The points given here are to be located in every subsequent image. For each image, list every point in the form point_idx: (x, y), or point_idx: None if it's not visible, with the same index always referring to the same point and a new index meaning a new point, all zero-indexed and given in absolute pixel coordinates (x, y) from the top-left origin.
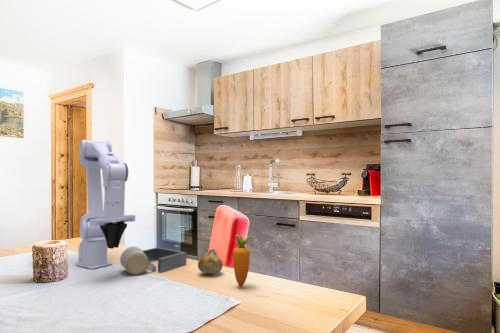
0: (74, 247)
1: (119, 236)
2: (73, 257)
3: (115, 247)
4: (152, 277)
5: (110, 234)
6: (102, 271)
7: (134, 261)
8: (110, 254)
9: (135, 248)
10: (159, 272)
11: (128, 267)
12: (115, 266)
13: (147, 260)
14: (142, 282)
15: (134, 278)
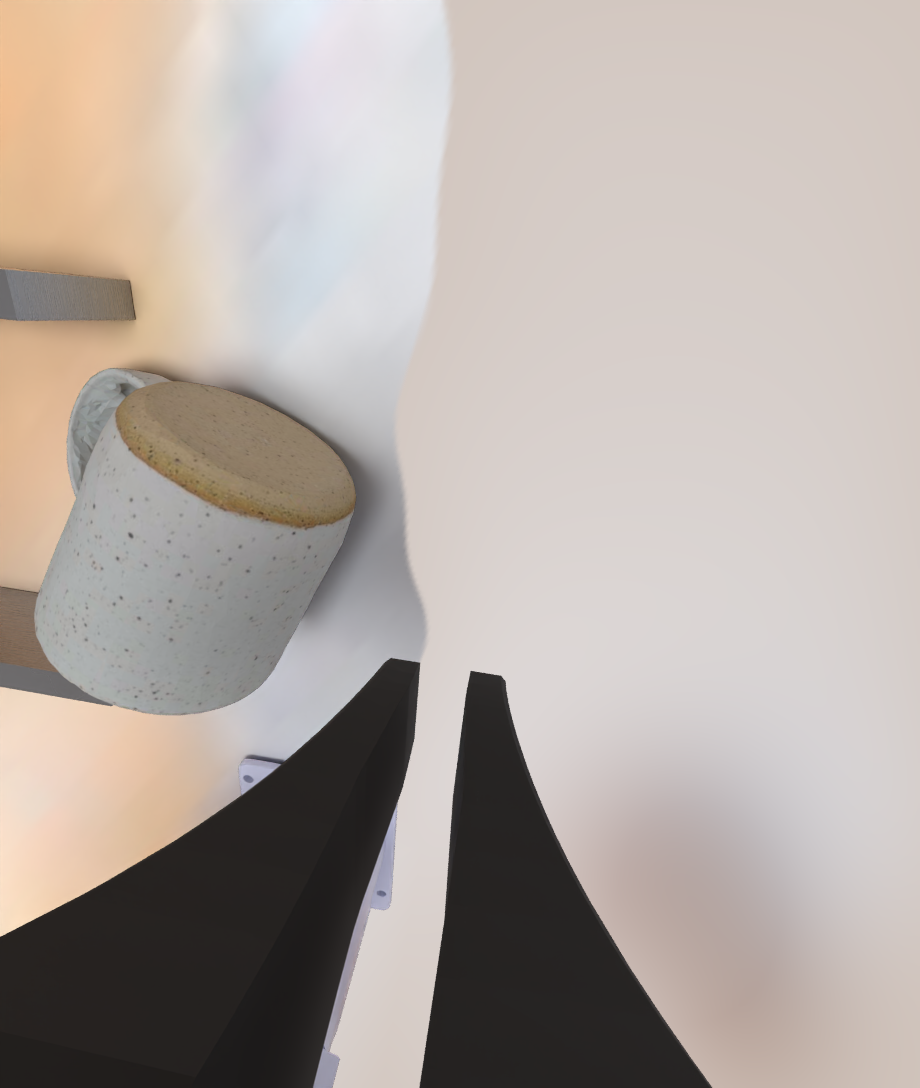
0: None
1: (341, 775)
2: None
3: (417, 684)
4: (262, 243)
5: (585, 905)
6: None
7: (275, 466)
8: None
9: (100, 625)
10: (129, 296)
11: (347, 485)
12: (257, 715)
13: (144, 387)
14: (421, 209)
15: (376, 379)
